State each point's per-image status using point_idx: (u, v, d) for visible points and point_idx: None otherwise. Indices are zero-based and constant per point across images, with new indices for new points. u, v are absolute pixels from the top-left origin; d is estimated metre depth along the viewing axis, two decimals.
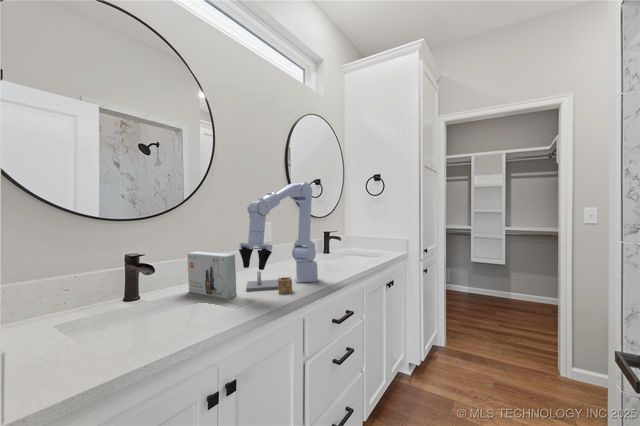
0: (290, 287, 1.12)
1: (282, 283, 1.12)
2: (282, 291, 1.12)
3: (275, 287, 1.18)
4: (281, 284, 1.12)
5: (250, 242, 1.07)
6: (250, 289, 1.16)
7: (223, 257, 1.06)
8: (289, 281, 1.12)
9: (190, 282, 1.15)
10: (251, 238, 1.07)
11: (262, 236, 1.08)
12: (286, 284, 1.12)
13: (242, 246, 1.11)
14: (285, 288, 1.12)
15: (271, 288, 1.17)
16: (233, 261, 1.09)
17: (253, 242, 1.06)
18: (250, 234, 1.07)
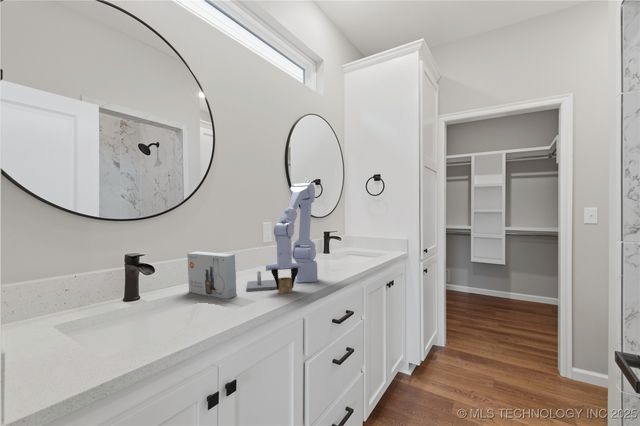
0: (290, 287, 1.12)
1: (282, 283, 1.12)
2: (282, 291, 1.12)
3: (275, 287, 1.18)
4: (281, 284, 1.12)
5: (285, 264, 1.12)
6: (250, 289, 1.16)
7: (223, 257, 1.06)
8: (289, 281, 1.12)
9: (190, 282, 1.15)
10: (285, 260, 1.12)
11: None
12: (286, 284, 1.12)
13: (268, 269, 1.13)
14: (285, 288, 1.12)
15: (271, 288, 1.17)
16: (233, 261, 1.09)
17: (288, 264, 1.12)
18: (283, 257, 1.12)
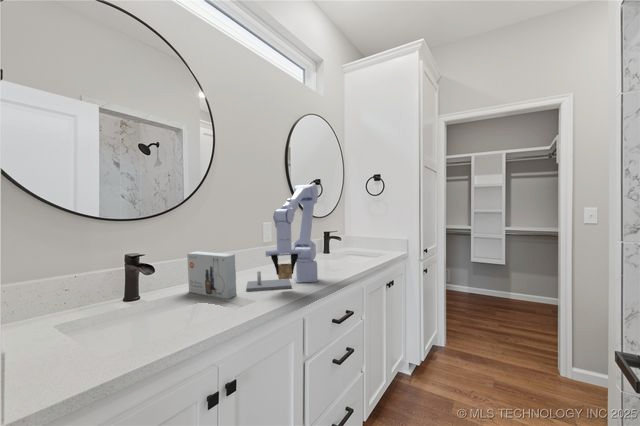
0: (290, 273, 1.12)
1: (281, 269, 1.12)
2: (282, 277, 1.12)
3: (275, 287, 1.18)
4: (281, 269, 1.12)
5: (284, 250, 1.12)
6: (250, 289, 1.16)
7: (223, 257, 1.06)
8: (289, 267, 1.12)
9: (190, 282, 1.15)
10: (285, 246, 1.12)
11: None
12: (286, 270, 1.12)
13: (268, 254, 1.13)
14: (285, 274, 1.12)
15: (271, 288, 1.17)
16: (233, 261, 1.09)
17: (287, 249, 1.12)
18: (283, 242, 1.11)
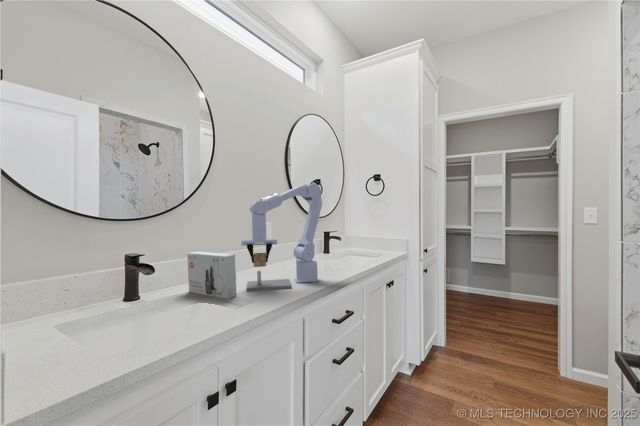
0: (264, 261, 1.20)
1: (256, 257, 1.19)
2: (257, 265, 1.19)
3: (275, 287, 1.18)
4: (256, 258, 1.19)
5: (259, 239, 1.19)
6: (250, 289, 1.16)
7: (223, 257, 1.06)
8: (263, 255, 1.20)
9: (190, 282, 1.15)
10: (260, 236, 1.19)
11: None
12: (260, 258, 1.19)
13: (244, 244, 1.20)
14: (259, 262, 1.19)
15: (271, 288, 1.17)
16: (233, 261, 1.09)
17: (262, 239, 1.20)
18: (258, 232, 1.19)
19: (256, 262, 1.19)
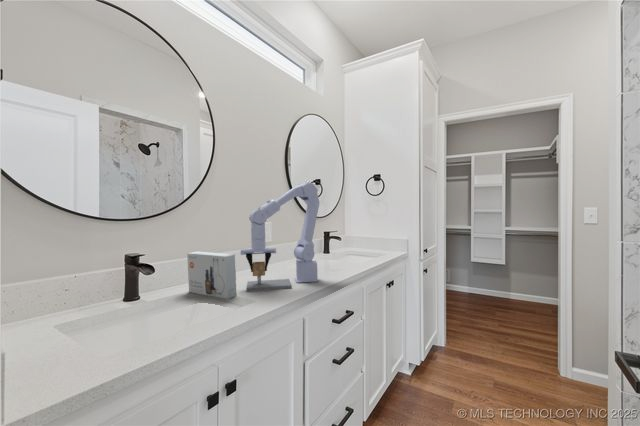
0: (263, 270, 1.20)
1: (255, 266, 1.19)
2: (256, 274, 1.19)
3: (275, 287, 1.18)
4: (255, 267, 1.19)
5: (258, 249, 1.19)
6: (250, 289, 1.16)
7: (223, 257, 1.06)
8: (262, 264, 1.20)
9: (190, 282, 1.15)
10: (259, 245, 1.19)
11: None
12: (259, 267, 1.20)
13: (243, 253, 1.20)
14: (258, 271, 1.20)
15: (271, 288, 1.17)
16: (233, 261, 1.09)
17: (261, 248, 1.20)
18: (257, 242, 1.19)
19: (255, 271, 1.19)
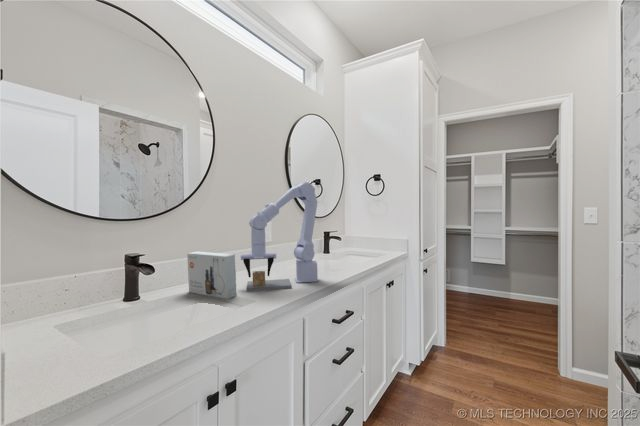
0: (263, 280, 1.20)
1: (255, 276, 1.19)
2: (256, 283, 1.19)
3: (275, 287, 1.18)
4: (255, 276, 1.19)
5: (258, 254, 1.19)
6: (250, 289, 1.16)
7: (223, 257, 1.06)
8: (262, 274, 1.20)
9: (190, 282, 1.15)
10: (259, 250, 1.19)
11: None
12: (259, 277, 1.20)
13: (243, 258, 1.20)
14: (259, 281, 1.20)
15: (271, 288, 1.17)
16: (233, 261, 1.09)
17: (261, 254, 1.20)
18: (257, 247, 1.19)
19: (255, 281, 1.19)
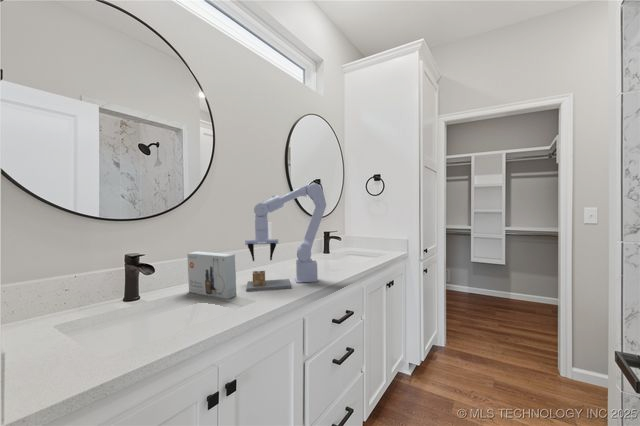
0: (263, 280, 1.20)
1: (255, 276, 1.19)
2: (256, 283, 1.19)
3: (275, 287, 1.18)
4: (255, 276, 1.19)
5: (261, 239, 1.28)
6: (250, 289, 1.16)
7: (223, 257, 1.06)
8: (262, 274, 1.20)
9: (190, 282, 1.15)
10: (262, 236, 1.28)
11: None
12: (259, 277, 1.20)
13: (247, 243, 1.29)
14: (259, 281, 1.20)
15: (271, 288, 1.17)
16: (233, 261, 1.09)
17: (264, 239, 1.29)
18: (260, 233, 1.28)
19: (255, 281, 1.19)
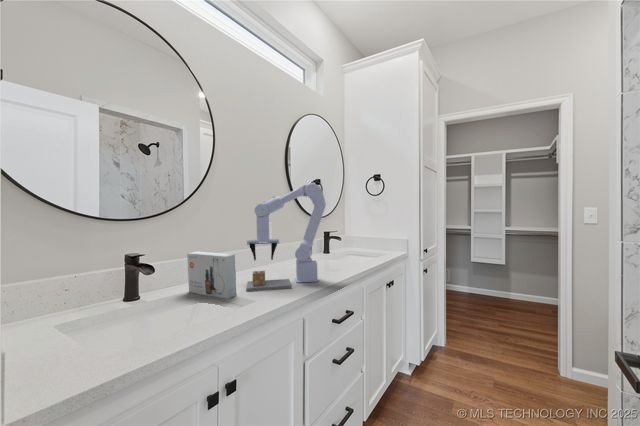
0: (263, 280, 1.20)
1: (255, 276, 1.19)
2: (256, 283, 1.19)
3: (275, 287, 1.18)
4: (255, 276, 1.19)
5: (263, 239, 1.32)
6: (250, 289, 1.16)
7: (223, 257, 1.06)
8: (262, 274, 1.20)
9: (190, 282, 1.15)
10: (263, 236, 1.32)
11: None
12: (259, 277, 1.20)
13: (249, 243, 1.33)
14: (259, 281, 1.20)
15: (271, 288, 1.17)
16: (233, 261, 1.09)
17: (265, 239, 1.32)
18: (262, 233, 1.31)
19: (255, 281, 1.19)
